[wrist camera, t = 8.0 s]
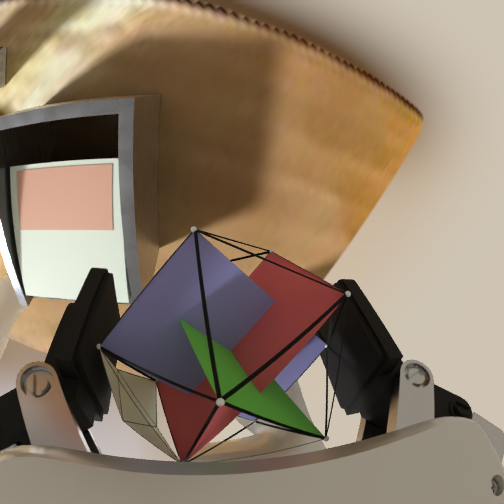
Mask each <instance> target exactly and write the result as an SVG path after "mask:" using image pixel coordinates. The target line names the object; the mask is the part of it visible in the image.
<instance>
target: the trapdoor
mask: <svg viewBox="0 0 504 504" xmlns="http://www.w3.org/2000/svg"><path fill="white" fill-rule="evenodd" d="M10 182H11V202H12V215H13V225H14V233H15V241H16V247H17V254H18V260H19V265H20V270H21V275H22V280H23V285H24V289H25V293H26V295H29V296H39V297H50V298H61V299H73V300H76V299H77V297H78V294H79V292H80V290H81V288H82V286H83V284H84V281H85V279H86V277H87V275H88V273H89V271H90V269H91V268H106V269H108V272H109V273H112V274H113V277H114V284H115V291H116V297H117V302H120V303H129V301H130V299H131V296H130V286H129V278H128V271H127V264H126V257H125V248H124V239H123V230H122V219H121V206H120V190H119V166H118V158H104V159H84V160H69V161H57V162H46V163H37V164H28V165H20V166H13V167H10Z"/></svg>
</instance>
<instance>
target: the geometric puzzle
mask: <svg viewBox="0 0 504 504" xmlns="http://www.w3.org/2000/svg"><path fill="white" fill-rule="evenodd" d="M191 232H192V233H191V234H190V235H189V236H188V237H187V238H186V239H185V241H184V242H183V243H182V244H181V245H180V246H179V247H178V249H177V250H176V251H175V252H174V253H173V254H172V256H171V257H170V258H169V259H168V260H167V261H166V263H165V264H164V265H163V266H162V267H161V269H160V270H159V271H158V272H157V273H156V275H155V276H154V277H153V278H152V279H151V281H150V282H149V283H148V284H147V285H146V287H145V288H144V289H143V290H142V292H141V293H140V294H139V295H138V297H137V298H136V299H135V300H134V302H133V303H132V304H131V305H130V307H129V308H128V309H127V310H126V312H125V313H124V314H123V315H122V317H121V318H120V319H119V321H118V322H117V323H116V324H115V326H114V327H113V328H112V330H111V331H110V332H109V333H108V335H107V336H106V337H105V339H104V340H103V341H102V343H101V344H97V346H96V347H97V349H100V353H101V357H102V360H103V364H104V367H105V371H106V374H107V377H108V380H109V384H110V387H111V390H112V393H113V396H114V398H115V401H116V404H117V407H118V410H119V413H120V415H121V418H122V420H123V421H124V422H125V423H126V424H127V425H129V426H130V427H131V428H132V429H133V430H135V431H136V432H137V433H138V434H140V435H141V436H142V437H144V438H145V439H146V440H148V441H149V442H150V443H152V444H153V445H154V446H156V447H157V448H158V449H160V450H161V451H163V452H164V453H166V454H167V455H169V456H170V457H171V458H173V459H174V460H176V461H177V462H190V461H192V460H194V459H196V458H198V457H199V456H201V455H203V454H205V453H206V452H208V451H210V450H212V449H213V448H215V447H217V446H218V445H220V444H222V443H223V442H225V441H227V440H228V439H230V438H231V437H233V436H235V435H236V434H238V433H239V432H241V431H242V430H244V429H246V428H247V427H249V426H250V425H252V424H253V423H259V424H262V425H266V426H269V427H273V428H277V429H281V430H284V431H288V432H293V433H297V434H301V435H306V436H310V437H315V438H320V439H321V440H324V441H328V440H329V437H328V436H327V432H328V428H329V423H328V428H327V409H328V404H327V403H328V344H329V341H330V339H331V337H332V334H333V332H334V330H335V327H336V325H337V322H338V320H339V317H340V315H341V312H342V310H343V307H344V304H345V302H346V307H345V318H346V308H347V297H350V295H351V293H350V291H346V292H344V291H342V290H340V289H339V288H337V287H335V286H333V285H331V284H330V283H328V282H326V281H324V280H322V279H321V278H319V277H317V276H315V275H313V274H312V273H310V272H308V271H306V270H304V269H303V268H301V267H299V266H297V265H295V264H294V263H292V262H290V261H288V260H286V259H285V258H283V257H281V256H279V255H277V254H276V253H274V251H273V250H272V249H271V250H270V251H269V250H266V249H262V248H259V247H256V246H252V245H249V244H245V243H242V242H238V241H235V240H232V239H228V238H225V237H221V236H218V235H214V234H211V233H207V232H204V231H200V230H197V228H196V227H192V228H191ZM200 233H201V234H204V235H206V236H209V237H211V238H213V239H216V240H218V241H220V242H223V243H225V244H227V245H230V246H232V247H234V248H237V249H239V250H241V251H244V252H246V253H249V254H251V255H250V256H245V257H241V258H236V259H232V260H229V259H228V258H227V257H225V256H224V255H223V254H222V253H221V252H220V251H219V250H218V249H217V248H215V247H214V246H213V245H212V244H211V243H210V242H209V241H208V240H207V239H205V238H204V237H203V236H202V235H201V234H200ZM209 234H210V235H209ZM211 235H213V236H217V237H220V238H224V239H227V240H231V241H234V242H238V243H241V244H245V245H248V246H252V247H255V248H259V249H262V250H266V251H267V252H263V253H258V254H254V253H251V252H249V251H246V250H244V249H242V248H239V247H237V246H235V245H232V244H230V243H228V242H225V241H223V240H220V239H218V238H216V237H213V236H211ZM267 253H268V255H267V256H266V257H265V258H263V257H261V256H258V255H262V254H267ZM254 256H256V257H258V258H260V259H263V261H262V262H261V263H260V264H259V266H258V267H257V268H256V269H255V270H254V271H253V272H252V274H251V275H250V276H249V277H248V276H247V275H246V274H245V273H243V272H242V271H241V270H240V269H239V268H238V267H237V266H236V265H234V264H233V263H232V261H236V260H241V259H245V258H249V257H254ZM343 300H344V301H343ZM342 301H343V304H342V307H341V309H340V312H339V315H338V317H337V320H336V322H335V325H334V327H333V330H332V332H331V335H330V337H329V340H328V342H327V343H326V342H325V340H324V338H323V336H322V335H321V333H320V331H319V328H320V327H321V326H322V325H323V324H324V323H325V321H326V320H327V319H328V318H329V316H330V315H331V314H332V313H333V312H334V310H335V309H336V308H337V307H338V305H339V304H340V303H341V302H342ZM345 318H344V327H345ZM344 327H343V335H342V344H343V336H344ZM316 332H318V334H319V335H320V337H321V339H322V340H323V341H322V340H321V339H319V338H318V337H317V336H316V335H315V333H316ZM342 344H341V351H342ZM325 348H326V374H327V375H326V422H325V423H326V424H325V437H324V436H323V435H322V434H321V433H320V431H319V430H318V429H317V428H316V427H315V426H314V425H313V424H312V422H311V421H310V420H309V419H308V418H307V417H306V416H305V414H304V413H303V412H302V411H301V410H300V409H299V408H298V406H297V405H296V404H295V403H294V402H293V401H292V399H291V398H290V397H289V396H288V395H287V393H286V391H287V390H288V389H289V388H290V387H291V386H292V385H293V384H294V383H295V382H296V381H297V380H298V379H299V377H300V376H301V375H302V374H303V373H304V372H305V371H306V370H307V369H308V368H309V367H310V365H311V364H312V363H313V362H314V361H315V360H316V359H317V358H318V356H319V355H320V354H321V353H322V352H323V351H324V350H325ZM102 350H103V351H104V352H106V353H108V354H109V355H111V356H112V357H114V358H116V359H117V360H119V361H120V362H122V363H124V364H125V365H127V366H129V367H130V368H132V369H134V370H136V371H137V372H139V373H141V374H143V375H144V376H146V377H148V378H150V379H147V378H144V377H141V376H137V375H134V374H131V373H128V372H125V371H122V370H119V369H117V368H116V367H115V366H114V365H113V363H112V362H111V361H110V360H109V359H108V357H107V356H106V355H105V354H104V352H103V351H102ZM341 351H340V359H341ZM340 359H339V366H340ZM339 366H338V372H339ZM143 372H144V373H143ZM338 372H337V379H338ZM150 376H151V377H150ZM152 377H153V378H152ZM154 378H155V379H154ZM151 379H152V380H151ZM337 379H336V385H337ZM156 384H157V388H158V392H159V395H160V399H161V403H162V406H163V410H164V413H165V416H166V419H167V423H168V426H169V429H170V433H171V436H172V439H173V442H174V445H175V448H176V450H177V453H178V456H179V459H180V460H179V459H178V458H177V456H176V455H175V454H174V452H173V451H172V449H171V448H170V446H169V445H168V443H167V442H166V440H165V439H164V437H163V436H162V434H161V433H160V431H159V429H158V428H157V410H156V409H157V406H156V405H157V404H156ZM336 385H335V391H336ZM335 391H334V397H335ZM334 397H333V402H334ZM333 402H332V408H333ZM332 408H331V413H332ZM331 413H330V418H331ZM237 416H239V417H242V418H244V419H247V420H250V421H253V422H252V423H251V424H249V425H248V426H246V427H244V428H243V429H241V430H240V431H238V432H237V433H235V434H233V435H232V436H230V437H229V438H227V439H225V440H224V441H222V442H220V443H219V444H217V445H215V446H214V447H212V448H210V449H208V450H207V451H205V452H203V453H201V454H199V455H198V456H196V457H194V458H192V459H190V458H191V457H192V456H193V455H195V454H196V453H197V452H198V451H199V450H201V449H202V448H203V447H204V446H205V445H206V444H207V443H209V442H210V441H211V440H212V439H213V438H214V437H215V436H216V435H217V434H219V433H220V432H221V431H222V430H223V429H224V428H225V427H226V426H227V425H228V424H229V423H230V422H232V421H233V420H234V419H235V418H236V417H237ZM330 418H329V422H330ZM258 419H261V420H264V421H267V422H269V423H272V424H275V425H278V426H281V427H278V426H274V425H270V424H266V423H263V422H259V421H257V420H258ZM282 427H284V428H282ZM286 428H288V429H286ZM290 429H291V430H290ZM318 441H320V440H318ZM314 442H317V441H314ZM311 443H313V442H311ZM307 444H310V443H307ZM303 445H306V444H303ZM299 446H302V445H299ZM295 447H298V446H295ZM291 448H294V447H291ZM287 449H290V448H287ZM283 450H286V449H283ZM279 451H282V450H279ZM274 452H277V451H274ZM269 453H273V452H269ZM264 454H268V453H264ZM259 455H263V454H259ZM254 456H258V455H254ZM248 457H252V456H248ZM242 458H246V457H242ZM189 459H190V460H189ZM235 459H240V458H235ZM229 460H233V459H229ZM221 461H226V460H221ZM212 462H218V461H212Z"/></svg>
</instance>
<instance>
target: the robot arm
mask: <svg viewBox="0 0 504 504" xmlns="http://www.w3.org/2000/svg"><path fill="white" fill-rule="evenodd" d="M333 286H335V287H337V288H339V289H340V290H342V291H344V292H346V291H350V293H351V295H350V297H347V308H346V318H345V307H346V302H345V304H344V307H343V310H342V312H341V315H340V317H339V320H338V322H337V325H336V327H335V330H334V332H333V334H332V337H331V339H330V341H329V344H328V376H329V379H330V381H331V384H332V386H333V389H334V391H335V385H336V379H337V372H338V366H339V359H340V351H341V344H342V335H343V327H344V318H345V327H344V336H343V344H342V351H341V359H340V366H339V372H338V379H337V385H336V391H335V394H336V397H337V399H338V402H339V404H340V406H341V408H343V409H345V412H346V414H347V415H350V414H354V413H359V412H360V414H361V422H360V427H359V431H358V435H357V440H356V442H354V443H350V444H346V445H342V446H338V447H333V448H328V449H326V448H325V446H324V444H323V442H322V440H321V439H320V438H315V437H310V436H306V435H301V434H297V433H293V432H288V431H284V430H281V429H277V428H273V427H269V426H266V425H262V424H259V423H253V424H252V425H250V426H249V427H247V429H248V430H249V431H251V432H252V433H253V434H255V435H252V436H249V437H244V438H241V439H236V440H228V441H225V442H223V443H222V444H220V445H218V446H217V447H215V448H213V449H212V450H210V451H208V452H206V453H205V454H203V455H201V456H199V457H198V458H196V459H194V460H192V461H190V462H177V461H176V462H174V461H157V460H145V459H135V458H125V457H117V456H110V455H103V454H102V453H101V451H100V449H99V447H98V445H97V443H96V441H95V439H94V437H93V435H92V433H91V431H90V428H91V427H92V426H93V423H94V420H95V421H102V420H103V414H108V410H109V404H110V398H111V391H112V390H111V387H110V384H109V380H108V377H107V374H106V371H105V367H104V364H103V360H102V357H101V353H100V349H97V347H96V346H97V344H101V343H102V341H103V340H104V339H105V337H106V336H107V335H108V333H109V332H110V331H111V330H112V328H113V327H114V326H115V324H116V323H117V322H118V321H119V319H120V315H119V309H118V303H117V297H116V291H115V284H114V277H113V274H112V273H109V272H108V269H106V268H91V269H90V271H89V273H88V275H87V277H86V279H85V281H84V284H83V286H82V288H81V290H80V292H79V294H78V297H77V299H76V301H75V303H70V304H68V306H67V308H66V310H65V312H64V314H63V317H62V319H61V321H60V324H59V326H58V328H57V331H56V333H55V336H54V338H53V341H52V343H51V346H50V348H49V351H48V354H47V356H46V360H45V362H40V361H37V362H32V363H29V364H27V365H26V366H24V367H23V368H22V369H21V370H20V372H19V373H18V375H17V379H16V388H15V389H14V390H11V391H10V392H8V393H6V394H4V395H3V396H1V397H0V504H504V467H503V465H502V463H501V462H502V458H503V454H504V433H503V431H502V430H501V429H499V428H498V427H496V426H494V425H493V424H492V423H490V422H488V421H487V420H486V419H484V418H482V417H481V416H480V415H478V414H476V413H475V412H474V413H472V411H471V407H470V406H469V404H468V403H467V402H466V401H465V400H464V399H462V398H461V397H459V396H457V395H455V394H453V393H451V392H449V391H447V390H445V389H443V388H441V387H439V386H437V385H434V380H433V375H432V373H431V371H430V370H429V368H428V367H427V366H426V365H424V364H423V363H421V362H419V361H417V360H407V361H406V362H404V363H403V362H402V361H401V359H402V357H403V355H402V354H401V352H400V350H399V349H398V347H397V345H396V344H395V342H394V340H393V339H392V337H391V336H390V334H389V332H388V331H387V329H386V328H385V326H384V324H383V323H382V321H381V320H380V318H379V317H378V315H377V313H376V312H375V310H374V309H373V307H372V306H371V304H370V302H369V301H368V300H367V298H366V296H365V295H364V293H363V292H362V290H361V289H360V287H359V286H358V284H357V283H356V282H355V281H354V280H349V279H347V280H346V279H341V280H339V281H338V282H337V283H335V284H334V285H333ZM343 301H344V300H343ZM343 301H342V302H341V303H340V304H339V305H338V307H337V308H336V309H335V310H334V312H333V313H332V314H331V315H330V316H329V318H328V319H327V320H326V321H325V323H324V324H323V325H322V326H321V327H320V328H319V331H320V333H321V335H322V336H323V338H324V340H325V342H326V343H327V342H328V340H329V337H330V335H331V332H332V330H333V327H334V325H335V322H336V320H337V317H338V315H339V312H340V309H341V307H342V304H343ZM315 335H316V336H317V337H318V338H319V339H321V337H320V335H319V334H318V332H316V333H315ZM321 340H322V339H321ZM322 341H323V340H322ZM102 351H103V350H102ZM103 352H104V351H103ZM104 354H105V355H106V356H107V357H108V359H109V360H110V361H111V362H112V363H113V365H114V366H115V367H116V363H117V359H116V358H114V357H112V356H111V355H109V354H108V353H106V352H104ZM320 356H321V358H322V360H323V363H324V366H325V368H326V348H325V350H324V351H323V352H322V353H321V354H320ZM286 393H287V395H288V396H289V397H290V398H291V399H292V401H293V402H294V403H295V404H296V405H297V406H298V408H299V409H300V410H301V411H302V412H303V413H304V414H305V416H306V417H307V418H308V419H309V420H310V421H311V422H312V420H311V418H310V415H309V413H308V410H307V408H306V405H305V402H304V399H303V396H302V393H301V389H300V386H299V383H298V380H297V381H296V382H295V383H294V384H293V385H292V386H291V387H290V388H289V389H288V390H287V391H286ZM236 419H237V421H238V422H239V423H240V424H242V425H243V426H244V427H246V426H248V425H249V424H251V423H252V422H253V421H250V420H247V419H244V418H242V417H239V416H237V417H236ZM257 421H259V422H263V423H266V424H270V425H274V426H278V425H275V424H272V423H269V422H267V421H264V420H261V419H258V420H257ZM312 424H313V422H312ZM313 425H314V424H313ZM278 427H281V426H278ZM282 428H284V427H282ZM286 429H288V428H286ZM290 430H291V429H290ZM318 440H320V441H318ZM314 441H317V442H314ZM221 442H222V441H221ZM311 442H313V443H311ZM219 443H220V442H214V443H207V444H206V445H205V446H204V447H203V448H202V449H201V450H199V451H198V452H197V453H196V454H195V455H193V456H192V457H191V458H190V459H192V458H194V457H196V456H198V455H199V454H201V453H203V452H205V451H207V450H208V449H210V448H212V447H214V446H215V445H217V444H219ZM307 443H310V444H307ZM303 444H306V445H303ZM299 445H302V446H299ZM295 446H298V447H295ZM291 447H294V448H291ZM287 448H290V449H287ZM283 449H286V450H283ZM279 450H282V451H279ZM274 451H277V452H274ZM269 452H273V453H269ZM264 453H268V454H264ZM259 454H263V455H259ZM254 455H258V456H254ZM248 456H252V457H248ZM242 457H246V458H242ZM177 458H178V459H179V456H177ZM235 458H240V459H235ZM190 459H189V460H190ZM229 459H233V460H229ZM179 460H180V459H179ZM221 460H226V461H221ZM212 461H218V462H212Z"/></svg>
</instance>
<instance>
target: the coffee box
mask: <svg viewBox="0 0 504 504" xmlns="http://www.w3.org/2000/svg"><path fill="white" fill-rule="evenodd" d="M6 51H7V48H6V47H0V88H2V87H4V86H5V70H6Z"/></svg>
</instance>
